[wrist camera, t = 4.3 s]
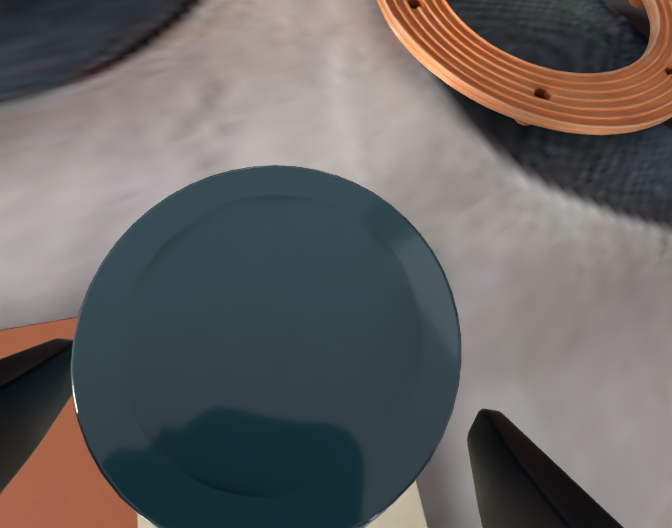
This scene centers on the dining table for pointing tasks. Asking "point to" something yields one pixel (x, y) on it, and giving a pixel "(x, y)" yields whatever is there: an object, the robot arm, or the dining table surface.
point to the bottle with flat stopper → (266, 355)
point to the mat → (84, 476)
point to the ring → (541, 73)
